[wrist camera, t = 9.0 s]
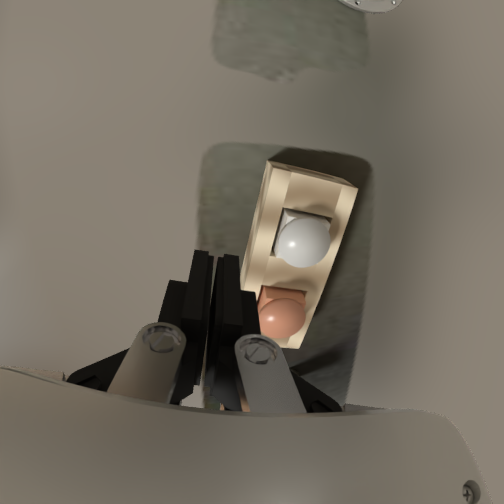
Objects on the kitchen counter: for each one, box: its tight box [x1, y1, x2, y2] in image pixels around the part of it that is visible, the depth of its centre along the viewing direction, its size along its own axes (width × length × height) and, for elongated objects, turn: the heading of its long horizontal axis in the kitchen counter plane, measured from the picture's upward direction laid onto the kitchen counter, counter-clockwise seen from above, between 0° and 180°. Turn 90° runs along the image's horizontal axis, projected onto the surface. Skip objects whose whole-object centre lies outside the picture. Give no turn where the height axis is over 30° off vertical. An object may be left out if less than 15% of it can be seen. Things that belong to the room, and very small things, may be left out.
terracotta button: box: [257, 285, 306, 338], centre depth 39 cm, size 6×6×6 cm
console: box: [240, 160, 358, 349], centre depth 39 cm, size 24×10×5 cm, turn 168°
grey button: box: [272, 207, 331, 268], centre depth 35 cm, size 6×6×6 cm
